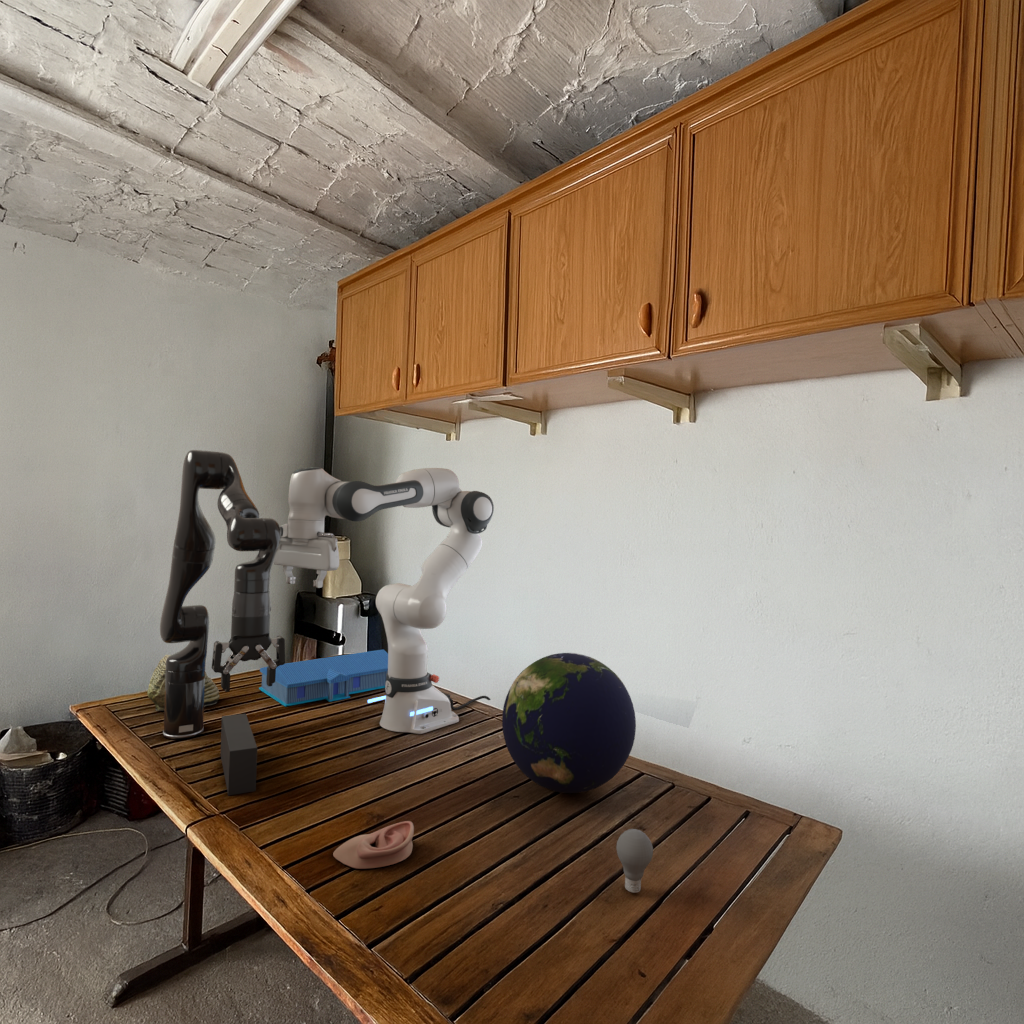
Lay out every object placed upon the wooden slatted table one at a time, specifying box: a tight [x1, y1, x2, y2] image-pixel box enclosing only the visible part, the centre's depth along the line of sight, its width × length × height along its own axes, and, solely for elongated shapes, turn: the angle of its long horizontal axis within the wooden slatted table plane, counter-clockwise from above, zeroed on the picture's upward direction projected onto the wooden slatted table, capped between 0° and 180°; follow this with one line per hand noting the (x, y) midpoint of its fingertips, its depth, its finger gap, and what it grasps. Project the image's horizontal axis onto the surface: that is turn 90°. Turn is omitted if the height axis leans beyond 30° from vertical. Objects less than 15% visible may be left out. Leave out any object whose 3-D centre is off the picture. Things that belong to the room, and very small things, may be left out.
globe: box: [501, 652, 637, 794], centre depth 143 cm, size 30×30×30 cm
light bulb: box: [615, 828, 654, 894], centre depth 106 cm, size 6×6×10 cm
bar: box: [220, 713, 258, 796], centre depth 144 cm, size 23×5×9 cm, turn 29°
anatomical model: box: [332, 820, 415, 870], centre depth 114 cm, size 13×4×12 cm
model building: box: [258, 649, 388, 707], centre depth 208 cm, size 39×24×10 cm, turn 132°
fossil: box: [147, 654, 221, 712], centre depth 185 cm, size 9×18×15 cm, turn 132°
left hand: (248, 688), depth 134 cm, fingers open, 8 cm apart
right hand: (304, 585), depth 160 cm, fingers open, 8 cm apart
